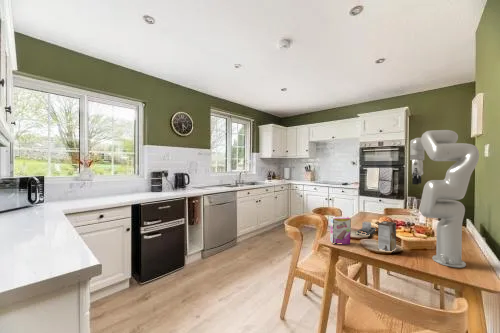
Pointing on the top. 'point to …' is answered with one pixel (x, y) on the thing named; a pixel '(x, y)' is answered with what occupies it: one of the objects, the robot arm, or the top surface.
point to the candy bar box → (340, 230)
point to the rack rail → (367, 231)
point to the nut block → (366, 226)
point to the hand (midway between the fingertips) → (416, 183)
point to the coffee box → (387, 235)
